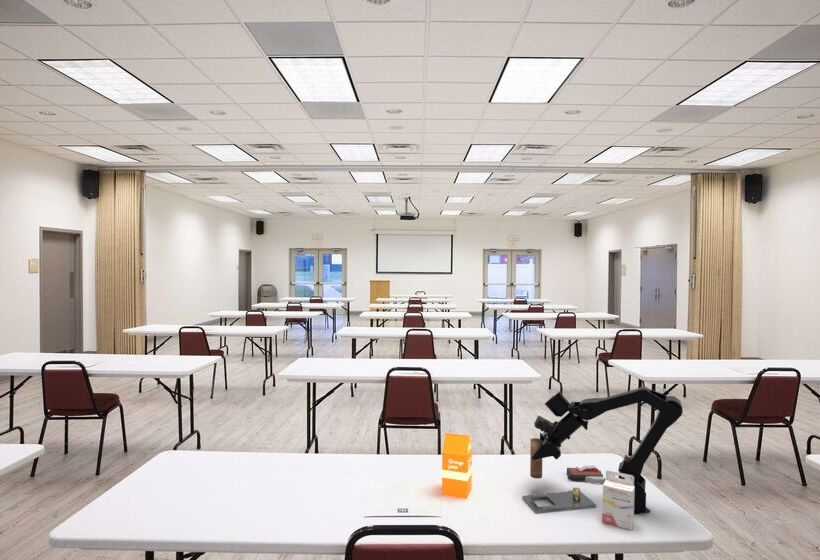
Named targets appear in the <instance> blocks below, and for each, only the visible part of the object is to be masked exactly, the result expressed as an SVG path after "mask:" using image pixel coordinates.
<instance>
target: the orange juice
mask: <svg viewBox="0 0 820 560" xmlns="http://www.w3.org/2000/svg"><path fill="white" fill-rule="evenodd" d="M472 460H473V447H472V442H471V436H470V435H468V434H467V435H466V434H458V433H448V432H445V434H444V439H443V447H442V451H441V495H442V496H447V497H453V498H454V497H455V498H461V499H468V497H469V495H470V493H471V491H472V484H473V483H472V477H473V475H472V473H473V472H472V471H473V465H472V464H473V461H472Z"/></svg>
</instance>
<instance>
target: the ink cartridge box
mask: <svg viewBox="0 0 820 560" xmlns="http://www.w3.org/2000/svg"><path fill="white" fill-rule="evenodd" d="M619 476H621V477H624V478H625V479H620V478H619ZM605 479H606V480H605V482H604V484H602V485H603V486H602V507H601V508H602V510H601V511H602V514H601V519H602V520H601V522H602V523H605V524H608V525H611V526H615V527H618V526H619V528H622V527H623V529H626V528H627V529H626V530H629V529H630V531H632V530H633V527H634V523H635V514H634V493H635V486H634V476H632V475H627V474H623V473H619V471H613V470H609V469H608V470H606V472H605Z"/></svg>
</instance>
